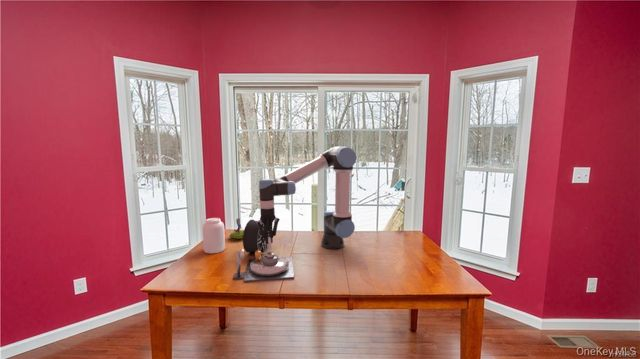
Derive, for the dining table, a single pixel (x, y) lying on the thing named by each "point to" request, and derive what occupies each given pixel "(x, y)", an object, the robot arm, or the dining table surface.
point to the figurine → (237, 234)
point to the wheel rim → (254, 237)
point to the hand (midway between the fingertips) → (269, 248)
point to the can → (213, 236)
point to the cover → (270, 259)
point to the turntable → (264, 270)
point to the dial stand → (239, 274)
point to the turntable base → (285, 275)
